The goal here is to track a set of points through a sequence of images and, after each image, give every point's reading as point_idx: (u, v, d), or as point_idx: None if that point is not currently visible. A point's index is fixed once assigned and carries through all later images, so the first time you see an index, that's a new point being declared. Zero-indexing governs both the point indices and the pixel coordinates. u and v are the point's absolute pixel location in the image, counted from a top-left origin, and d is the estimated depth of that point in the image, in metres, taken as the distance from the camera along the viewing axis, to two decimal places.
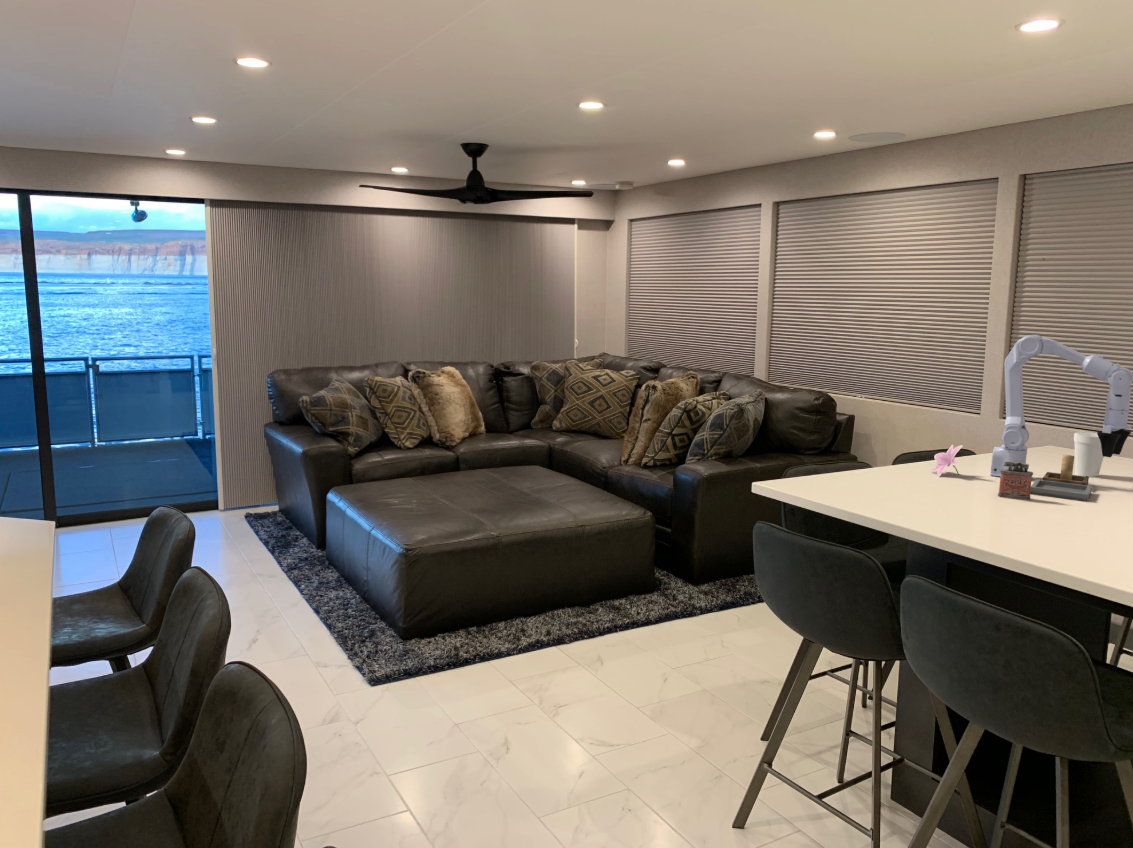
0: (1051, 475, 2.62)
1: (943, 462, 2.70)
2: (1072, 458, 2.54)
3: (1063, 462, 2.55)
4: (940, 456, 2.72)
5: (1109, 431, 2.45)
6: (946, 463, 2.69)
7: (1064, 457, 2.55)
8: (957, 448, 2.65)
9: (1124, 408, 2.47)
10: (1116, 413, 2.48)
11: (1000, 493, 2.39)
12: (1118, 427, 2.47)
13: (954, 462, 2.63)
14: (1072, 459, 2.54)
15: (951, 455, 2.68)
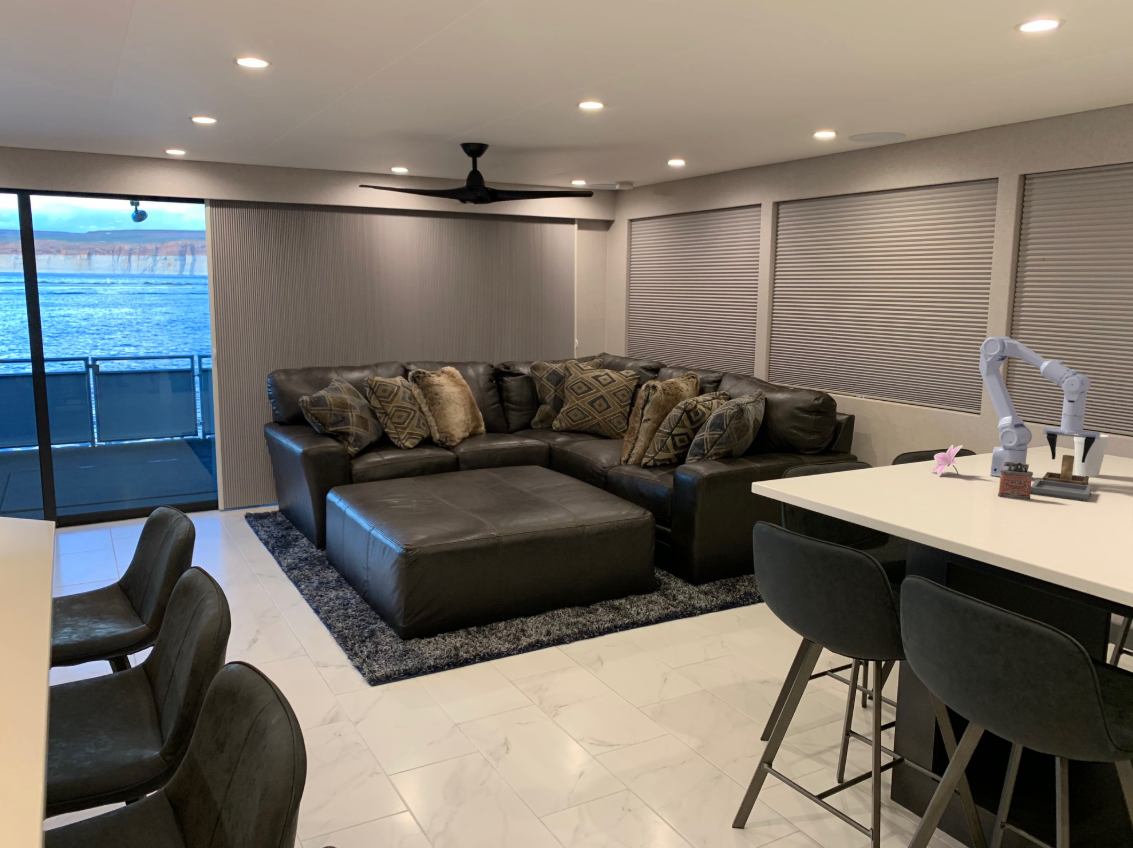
0: (1051, 475, 2.62)
1: (943, 462, 2.70)
2: (1072, 458, 2.54)
3: (1063, 462, 2.55)
4: (939, 456, 2.72)
5: (1043, 432, 2.58)
6: (946, 463, 2.69)
7: (1064, 457, 2.55)
8: (957, 448, 2.65)
9: (1077, 414, 2.51)
10: (1062, 417, 2.55)
11: (1000, 493, 2.39)
12: (1056, 430, 2.55)
13: (954, 462, 2.63)
14: (1072, 459, 2.54)
15: (951, 455, 2.68)
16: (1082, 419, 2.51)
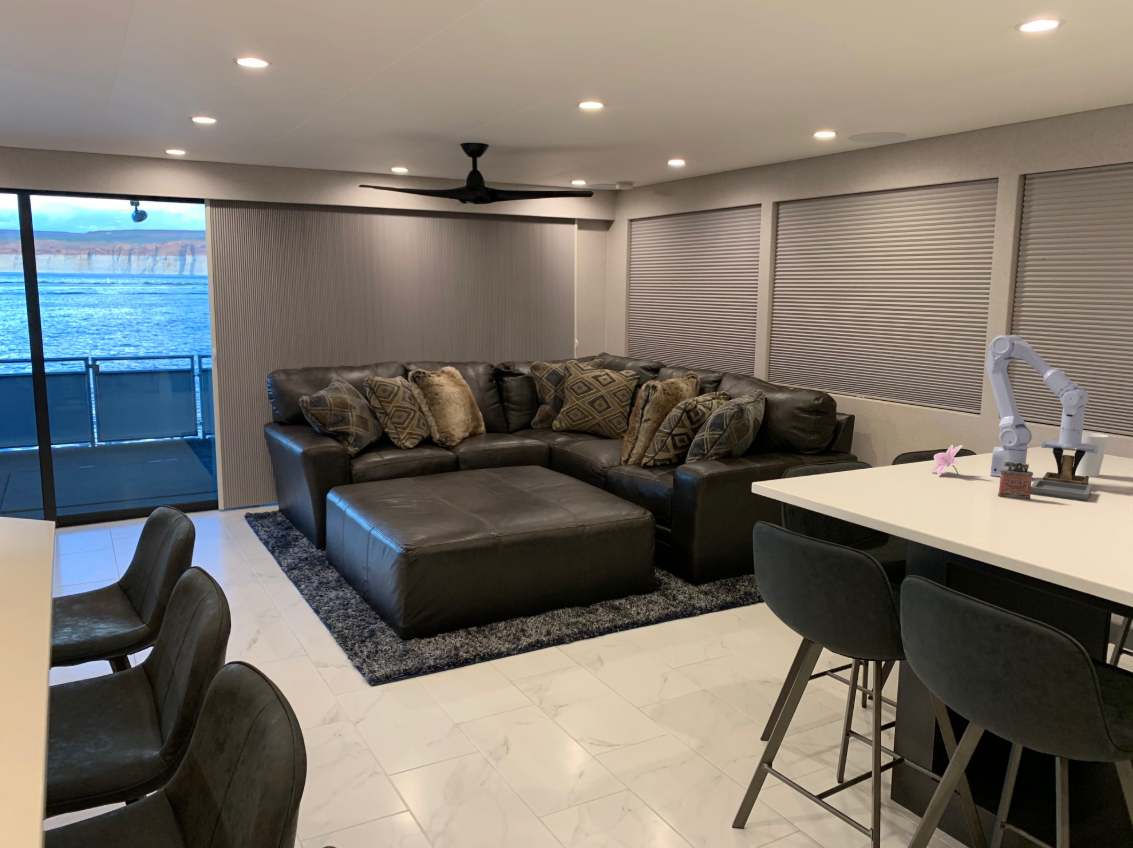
0: (1051, 475, 2.62)
1: (943, 462, 2.70)
2: (1072, 458, 2.54)
3: (1063, 462, 2.55)
4: (939, 456, 2.72)
5: (1041, 445, 2.58)
6: (946, 463, 2.69)
7: (1064, 457, 2.55)
8: (957, 448, 2.65)
9: (1075, 428, 2.51)
10: (1060, 431, 2.55)
11: (1000, 493, 2.39)
12: (1054, 444, 2.55)
13: (954, 462, 2.63)
14: (1072, 459, 2.54)
15: (951, 455, 2.68)
16: (1081, 434, 2.52)
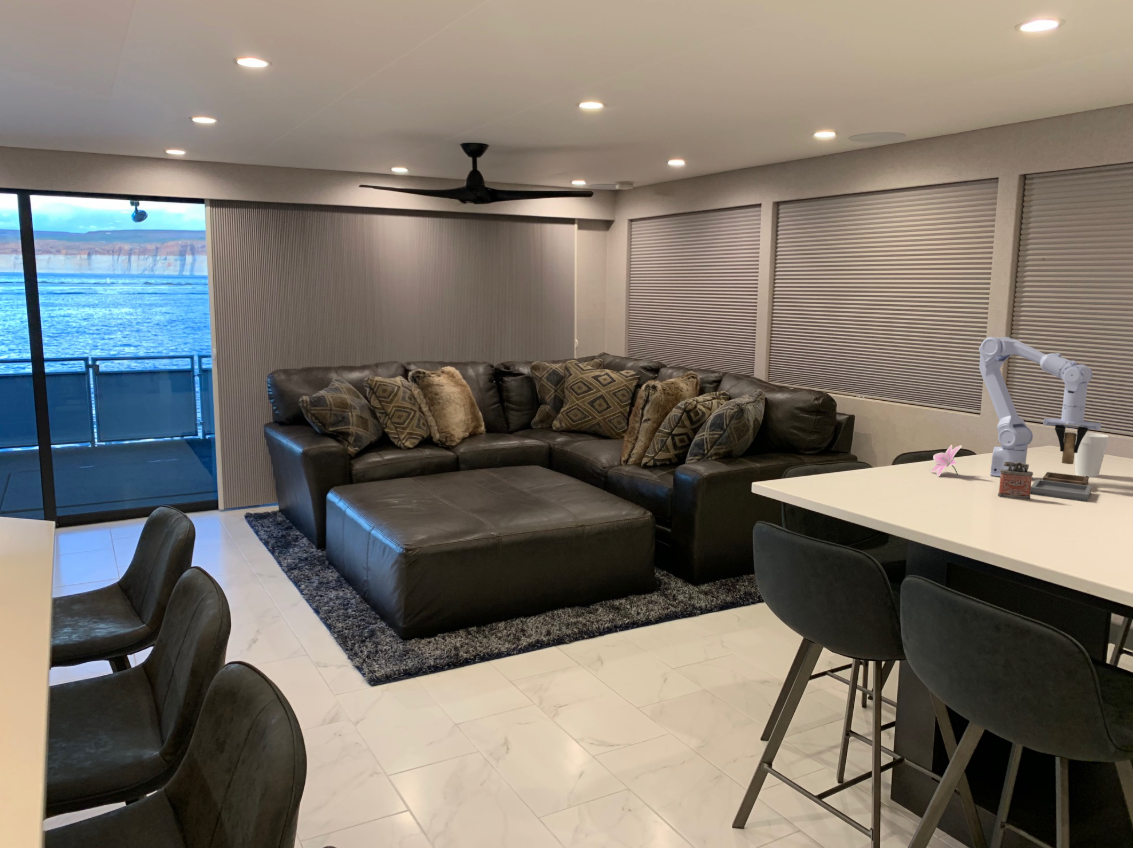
0: (1051, 475, 2.62)
1: (942, 462, 2.69)
2: (1074, 435, 2.52)
3: (1065, 439, 2.53)
4: (938, 456, 2.71)
5: (1043, 423, 2.56)
6: (945, 463, 2.69)
7: (1066, 434, 2.53)
8: (957, 448, 2.65)
9: (1077, 404, 2.49)
10: (1062, 408, 2.53)
11: (1000, 493, 2.39)
12: (1057, 421, 2.53)
13: (953, 462, 2.63)
14: (1074, 436, 2.52)
15: (950, 455, 2.68)
16: (1083, 410, 2.50)
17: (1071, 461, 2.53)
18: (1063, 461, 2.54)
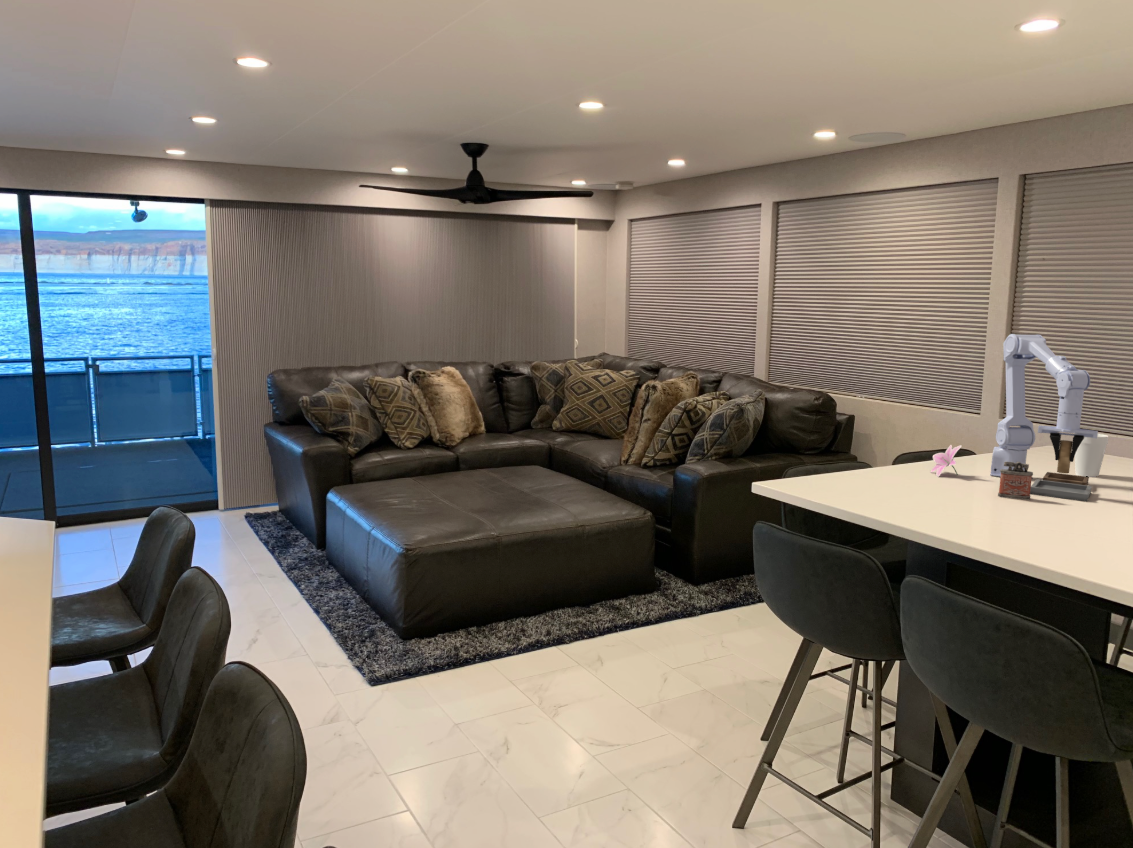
0: (1051, 475, 2.62)
1: (942, 462, 2.69)
2: (1070, 443, 2.42)
3: (1061, 448, 2.43)
4: (938, 456, 2.71)
5: (1038, 430, 2.46)
6: (945, 463, 2.69)
7: (1062, 442, 2.43)
8: (956, 449, 2.65)
9: (1067, 411, 2.40)
10: None
11: (1000, 493, 2.39)
12: (1052, 429, 2.43)
13: (953, 462, 2.63)
14: (1070, 444, 2.42)
15: (950, 455, 2.67)
16: (1079, 418, 2.40)
17: (1067, 470, 2.43)
18: (1058, 470, 2.44)
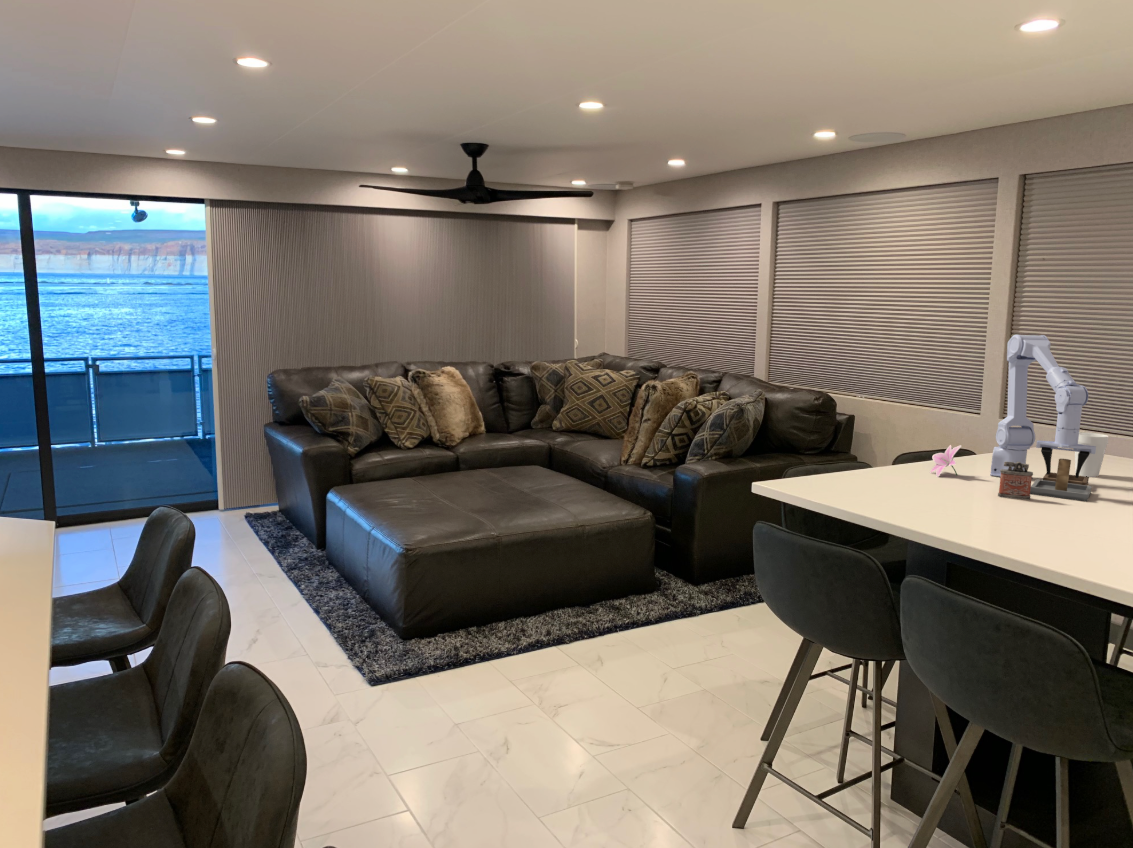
0: (1051, 475, 2.62)
1: (941, 462, 2.69)
2: (1069, 462, 2.42)
3: (1059, 466, 2.44)
4: (938, 456, 2.71)
5: (1036, 445, 2.47)
6: (944, 463, 2.68)
7: (1060, 461, 2.43)
8: (956, 449, 2.65)
9: (1065, 426, 2.40)
10: (1056, 430, 2.44)
11: (1000, 493, 2.39)
12: (1050, 444, 2.44)
13: (953, 462, 2.63)
14: (1069, 463, 2.42)
15: (949, 455, 2.67)
16: (1077, 433, 2.40)
17: (1064, 489, 2.43)
18: (1056, 488, 2.45)
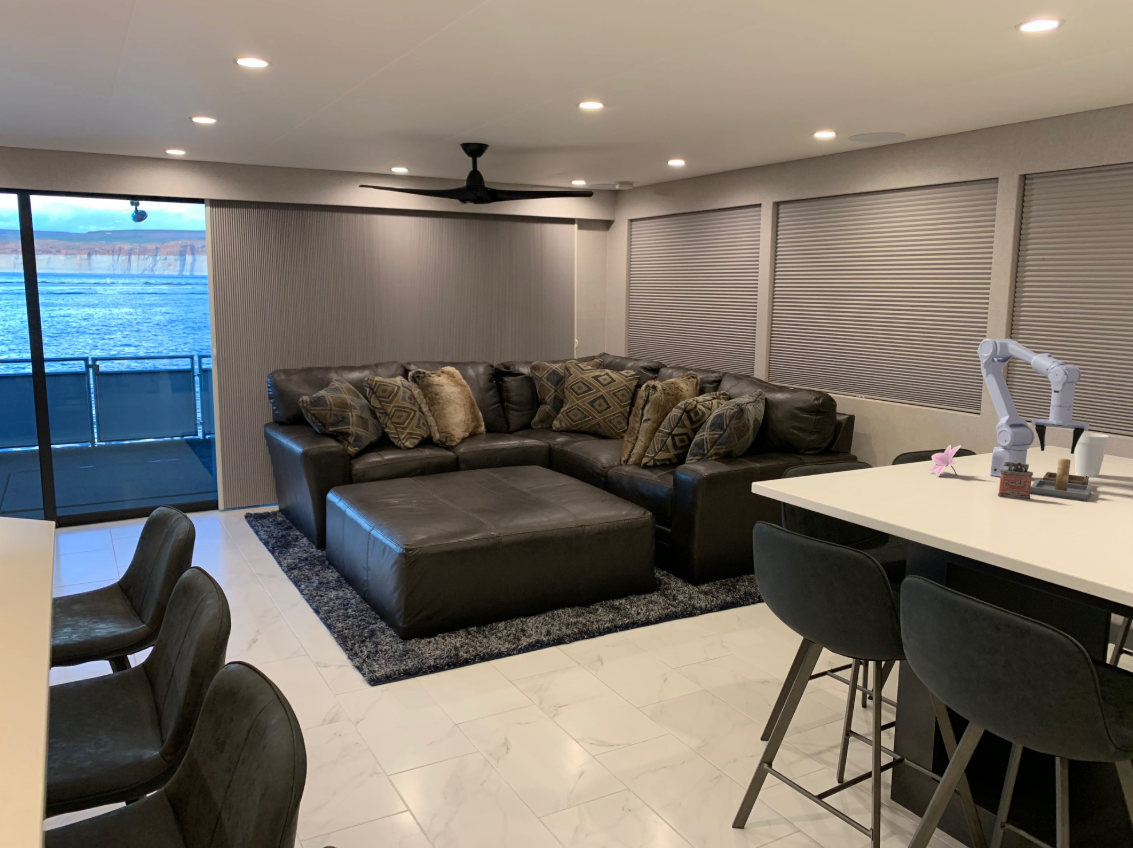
0: (1051, 475, 2.62)
1: (941, 462, 2.69)
2: (1068, 462, 2.42)
3: (1059, 466, 2.44)
4: (937, 456, 2.71)
5: None
6: (944, 463, 2.68)
7: (1060, 461, 2.43)
8: (955, 449, 2.65)
9: (1062, 404, 2.49)
10: (1050, 408, 2.52)
11: (1000, 493, 2.39)
12: (1045, 421, 2.52)
13: (952, 462, 2.63)
14: (1068, 463, 2.42)
15: (949, 455, 2.67)
16: (1071, 410, 2.49)
17: (1064, 489, 2.44)
18: (1056, 488, 2.45)
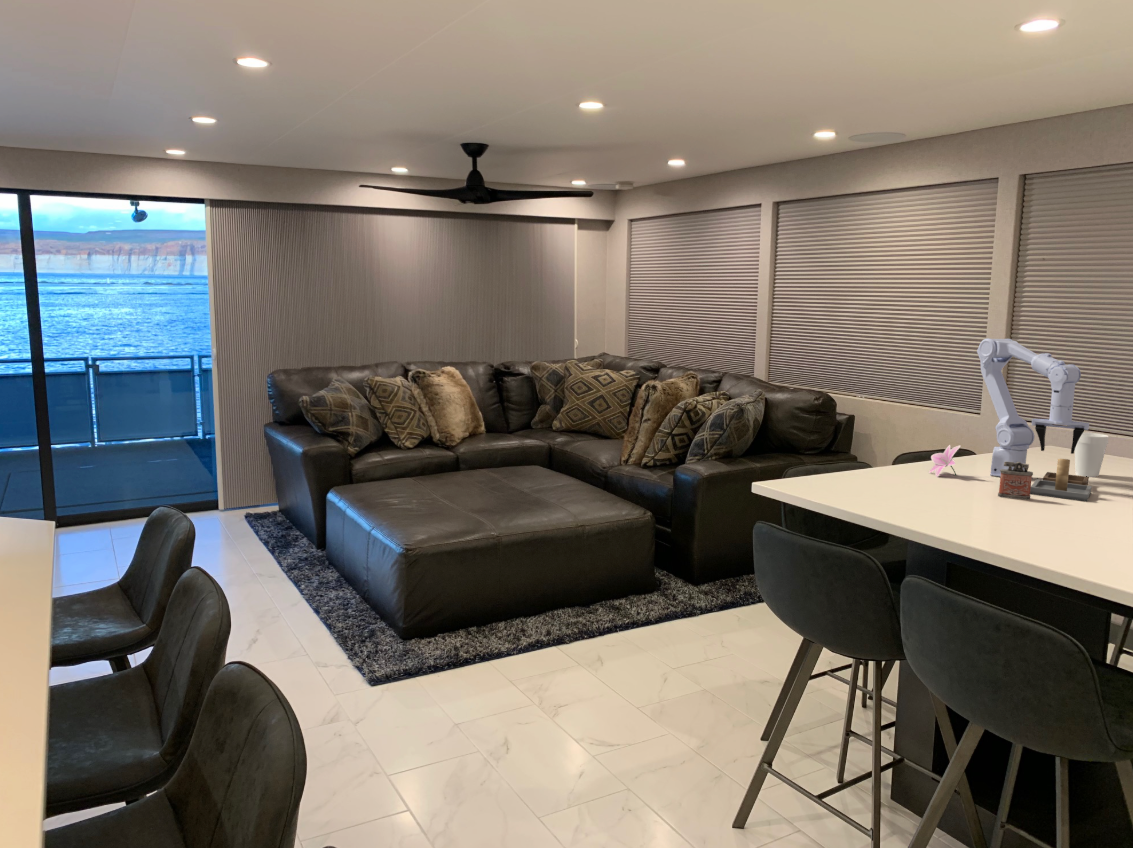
0: (1051, 475, 2.62)
1: (940, 462, 2.69)
2: (1068, 462, 2.42)
3: (1058, 466, 2.44)
4: (937, 457, 2.71)
5: None
6: (943, 463, 2.68)
7: (1059, 461, 2.43)
8: (955, 449, 2.64)
9: (1062, 404, 2.49)
10: (1050, 408, 2.52)
11: (1000, 493, 2.39)
12: (1045, 421, 2.52)
13: (952, 462, 2.62)
14: (1068, 463, 2.43)
15: (948, 455, 2.67)
16: (1071, 410, 2.49)
17: (1064, 489, 2.44)
18: (1056, 488, 2.45)
